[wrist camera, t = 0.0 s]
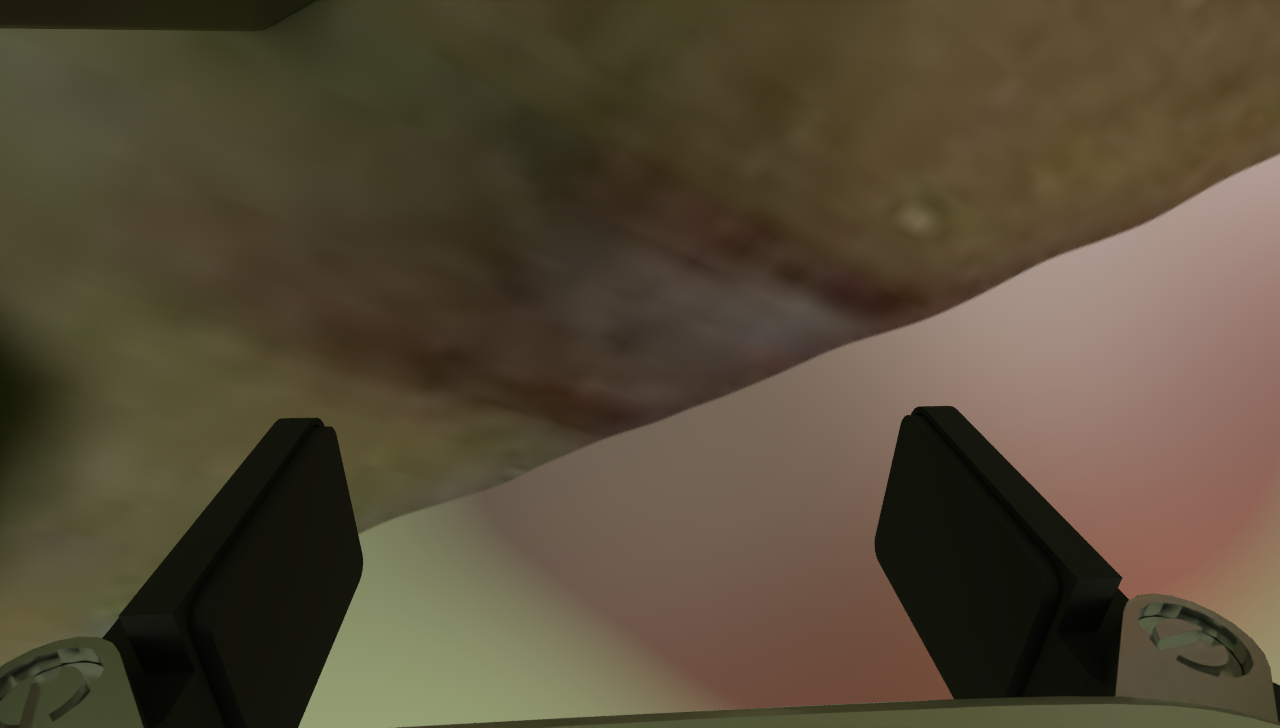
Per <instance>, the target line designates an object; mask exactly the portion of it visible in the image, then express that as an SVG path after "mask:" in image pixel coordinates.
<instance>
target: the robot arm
mask: <svg viewBox="0 0 1280 728" xmlns="http://www.w3.org/2000/svg"><path fill="white" fill-rule="evenodd" d="M875 552H876V556H877V559H878V561H879V563H880V565H881V567H882V569H883V571H884V572H885V574H886V576H887V578H888V580H889V581H890V583H891V585H892V587H893V589H894V591H895V592H896V594H897V596H898V598H899V600H900V602H901V603H902V605H903V607H904V609H905V610H906V612H907V614H908V616H909V617H910V620H911V621H912V623H913V625H914V627H915V629H916V631H917V632H918V634H919V636H920V638H921V639H922V641H923V643H924V645H925V647H926V649H927V651H928V652H929V654H930V656H931V658H932V659H933V661H934V663H935V665H936V667H937V669H938V671H939V672H940V674H941V676H942V677H943V680H944V681H945V683H946V685H947V687H948V688H949V691H950V692H951V694H952V696H953V698H954V699H953V700H952V699H951V700H928V701H906V702H886V703H885V702H884V703H862V704H839V705H819V706H818V705H817V706H794V707H773V708H754V709H733V710H714V711H693V712H674V713H654V714H636V715H635V714H634V715H616V716H596V717H577V718H558V719H541V720H540V719H539V720H522V721H506V722H487V723H469V724H451V725H433V726H416V727H398V728H1280V685H1277V684H1275V683H1273V682H1272V677H1271V670H1270V667H1269V664H1268V662H1267V659H1266V657H1265V654H1264V653H1263V652H1262V650H1261V649H1260V648H1259V647H1258V646H1257V644H1256V643H1255V642H1254V641H1253V639H1251V638H1250V637H1249V636H1248V635H1247V634H1246V633H1244V632H1243V631H1242V630H1241V629H1239V628H1238V627H1237V626H1236V625H1235V624H1233V623H1232V622H1230V621H1228V620H1227V619H1225V618H1223V617H1222V616H1220V615H1219V614H1217V613H1215V612H1213V611H1211V610H1209V609H1207V608H1204V607H1202V606H1200V605H1198V604H1196V603H1193V602H1191V601H1187V600H1184V599H1181V598H1177V597H1174V596H1169V595H1161V594H1146V595H1145V594H1144V595H1138V596H1136V597H1134V598H1132V599H1130V600H1129V599H1128V598H1127V597H1126V596H1125V595H1124V594H1123V593H1122V592H1121V591H1120V590H1119V589H1118V586H1119V584H1120V582H1121V580H1122V577H1121V576H1120V575H1119V574H1118V573H1117V572H1116V571H1115V570H1114V569H1113V568H1112V567H1111V566H1110V565H1109V564H1108V563H1107V562H1106V561H1105V560H1104V559H1103V558H1102V557H1101V556H1100V554H1099V553H1098V552H1096V550H1094V548H1093V547H1092V546H1091V545H1090V544H1088V542H1087V541H1086V540H1085V539H1084V538H1083V537H1082V536H1081V535H1080V534H1079V533H1078V532H1077V531H1076V530H1075V529H1074V528H1073V527H1072V526H1071V525H1070V524H1069V523H1068V522H1067V521H1066V520H1065V519H1064V518H1063V517H1062V516H1061V515H1060V514H1059V513H1058V512H1057V511H1056V510H1055V509H1054V508H1053V507H1052V506H1051V505H1050V504H1049V503H1048V502H1047V501H1046V500H1045V499H1044V498H1043V497H1042V496H1041V495H1040V493H1038V491H1037V490H1036V489H1035V488H1034V487H1033V486H1032V485H1031V484H1030V483H1028V481H1027V480H1026V479H1025V478H1024V477H1023V476H1022V475H1021V474H1020V473H1019V472H1018V471H1017V470H1016V469H1015V468H1014V467H1013V466H1012V465H1011V464H1010V463H1009V462H1008V461H1007V460H1006V459H1005V458H1004V457H1003V456H1002V455H1001V454H1000V453H999V452H998V451H997V450H996V449H995V448H994V447H993V446H992V445H991V444H990V443H989V442H988V441H987V440H986V439H985V437H984V436H982V434H981V433H980V432H979V431H978V430H977V429H976V428H975V427H974V426H973V425H972V424H971V423H970V422H969V421H968V420H967V419H966V418H965V417H964V416H963V415H962V414H961V413H960V412H959V411H958V410H957V409H956V408H954V407H952V406H923V407H917V408H915V409H914V410H913V412H912V413H911V415H907V416H905V417H904V418H903V420H902V422H901V425H900V430H899V434H898V439H897V443H896V448H895V452H894V456H893V461H892V466H891V470H890V474H889V478H888V483H887V487H886V492H885V496H884V501H883V505H882V510H881V514H880V518H879V523H878V527H877V531H876V536H875ZM362 570H363V556H362V551H361V546H360V541H359V536H358V532H357V527H356V523H355V518H354V513H353V509H352V504H351V500H350V495H349V490H348V486H347V481H346V476H345V472H344V467H343V463H342V458H341V453H340V449H339V444H338V440H337V435H336V432H335V430H334V428H333V427H331V426H330V427H325V426H324V424H323V422H322V421H321V419H319V418H283V419H279V420H277V421H276V422H275V423H274V425H273V426H272V427H271V428H270V429H269V431H268V432H267V433H266V434H265V436H264V437H263V438H262V439H261V441H260V442H259V443H258V444H257V446H256V447H255V448H254V449H253V451H252V452H251V453H250V454H249V455H248V457H247V458H246V459H245V460H244V462H243V463H242V464H241V465H240V467H239V468H238V469H237V470H236V472H235V473H234V474H233V475H232V476H231V478H230V479H229V480H228V481H227V483H226V484H225V485H224V486H223V488H222V489H221V490H220V491H219V493H218V494H217V495H216V496H215V497H214V499H213V500H212V501H211V502H210V504H209V505H208V506H207V507H206V509H205V510H204V511H203V512H202V514H201V515H200V516H199V517H198V518H197V520H196V521H195V522H194V523H193V525H192V526H191V527H190V528H189V530H188V531H187V532H186V533H185V535H184V536H183V537H182V538H181V540H180V541H179V542H178V543H177V544H176V546H175V547H174V548H173V549H172V551H171V552H170V553H169V554H168V556H167V557H166V558H165V559H164V561H163V562H162V563H161V564H160V565H159V567H158V568H157V569H156V570H155V572H154V573H153V574H152V575H151V577H150V578H149V579H148V580H147V582H146V583H145V584H144V585H143V586H142V588H141V589H140V590H139V591H138V593H137V594H136V595H135V596H134V598H133V599H132V600H131V601H130V603H129V604H128V605H127V606H126V607H125V609H124V610H123V611H122V612H121V614H120V615H119V618H118V620H117V621H116V622H115V623H114V625H113V626H112V627H111V628H110V630H109V631H108V632H107V633H106V635H105V636H104V637H103V638H99V637H75V638H69V639H64V640H59V641H55V642H52V643H49V644H47V645H44V646H41V647H38V648H35V649H33V650H30V651H28V652H26V653H25V654H23V655H21V656H19V657H17V658H15V659H13V660H11V661H9V662H7V663H6V664H4V665H3V666H1V667H0V728H298V727H299V724H300V722H301V719H302V717H303V714H304V712H305V710H306V707H307V705H308V703H309V700H310V698H311V696H312V693H313V691H314V688H315V686H316V684H317V681H318V679H319V676H320V674H321V672H322V669H323V667H324V664H325V662H326V659H327V657H328V655H329V653H330V650H331V648H332V645H333V643H334V641H335V638H336V636H337V634H338V631H339V629H340V626H341V624H342V622H343V619H344V617H345V614H346V612H347V610H348V607H349V605H350V602H351V600H352V598H353V595H354V593H355V591H356V588H357V586H358V583H359V581H360V578H361V575H362Z"/></svg>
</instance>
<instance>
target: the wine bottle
mask: <svg viewBox="0 0 1280 728" xmlns="http://www.w3.org/2000/svg"><path fill="white" fill-rule="evenodd" d="M312 1H314V0H0V28H25V29H112V30H200V31H257V30H261V29H265V28H267V27H269V26H271V25H272V24H274V23H276V22H278V21H279V20H281V19H283V18H285V17H286V16H288V15H290V14H292V13H293V12H295V11H297V10H298V9H300V8H302V7H304V6H305V5H307V4H309V3H311V2H312Z"/></svg>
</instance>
